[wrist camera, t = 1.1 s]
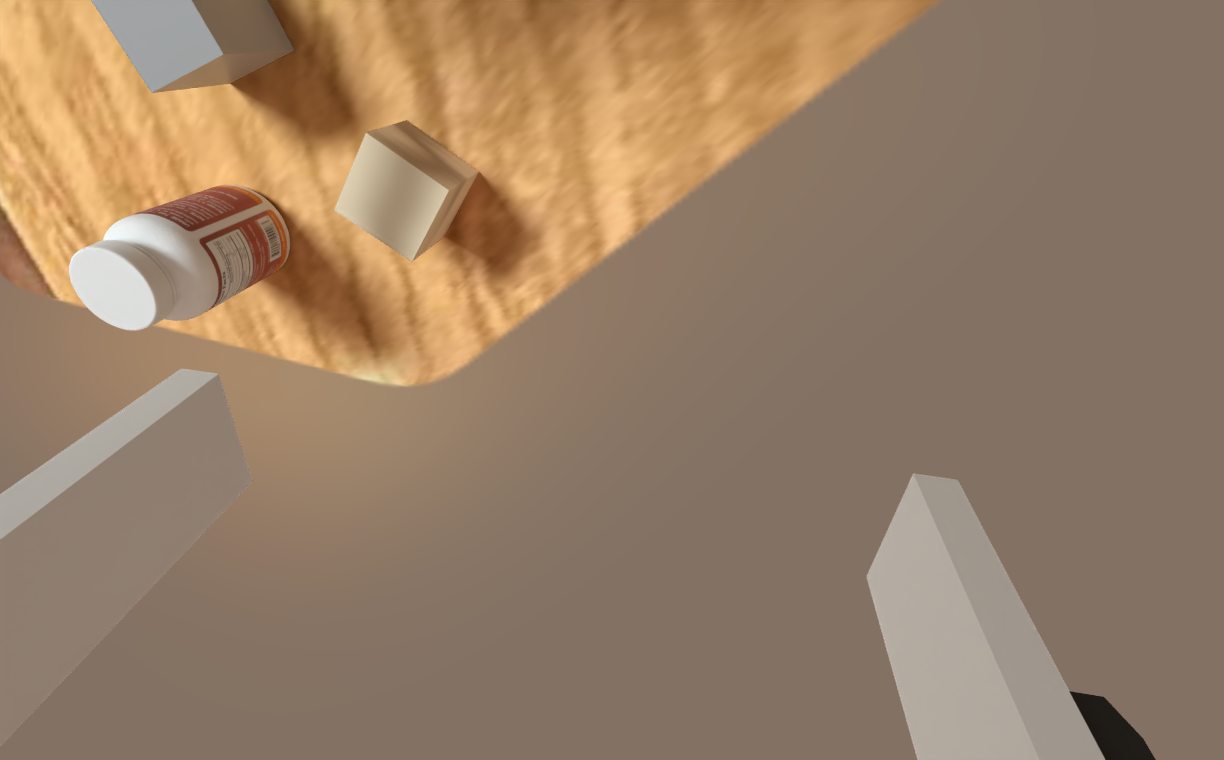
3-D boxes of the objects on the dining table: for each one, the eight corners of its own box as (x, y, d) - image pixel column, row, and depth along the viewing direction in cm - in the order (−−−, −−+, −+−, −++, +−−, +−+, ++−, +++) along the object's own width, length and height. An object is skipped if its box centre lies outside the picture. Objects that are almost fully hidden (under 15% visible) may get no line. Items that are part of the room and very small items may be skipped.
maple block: (376, 189, 38) (334, 210, 34) (407, 120, 36) (366, 132, 32) (444, 236, 39) (412, 261, 35) (479, 171, 37) (448, 190, 33)
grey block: (175, -9, 34) (81, -16, 29) (241, -49, 33) (154, -63, 28) (230, 83, 36) (151, 92, 31) (295, 50, 35) (223, 54, 30)
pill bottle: (189, 220, 41) (33, 278, 32) (235, 162, 39) (80, 206, 29) (263, 289, 43) (137, 363, 34) (311, 238, 41) (190, 302, 31)
